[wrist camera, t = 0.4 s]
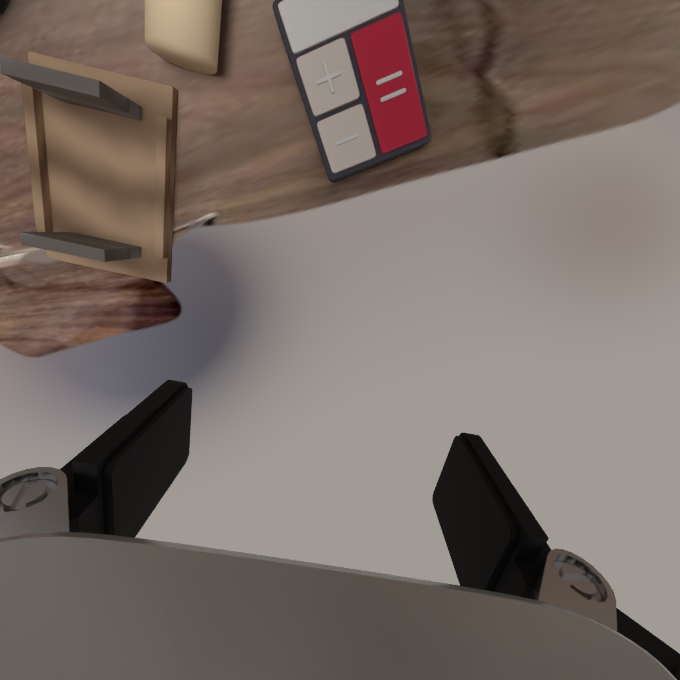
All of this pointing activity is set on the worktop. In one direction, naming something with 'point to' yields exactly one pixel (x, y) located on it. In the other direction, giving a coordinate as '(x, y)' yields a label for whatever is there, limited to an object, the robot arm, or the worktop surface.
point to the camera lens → (3, 5)
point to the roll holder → (99, 165)
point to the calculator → (355, 80)
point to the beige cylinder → (185, 32)
